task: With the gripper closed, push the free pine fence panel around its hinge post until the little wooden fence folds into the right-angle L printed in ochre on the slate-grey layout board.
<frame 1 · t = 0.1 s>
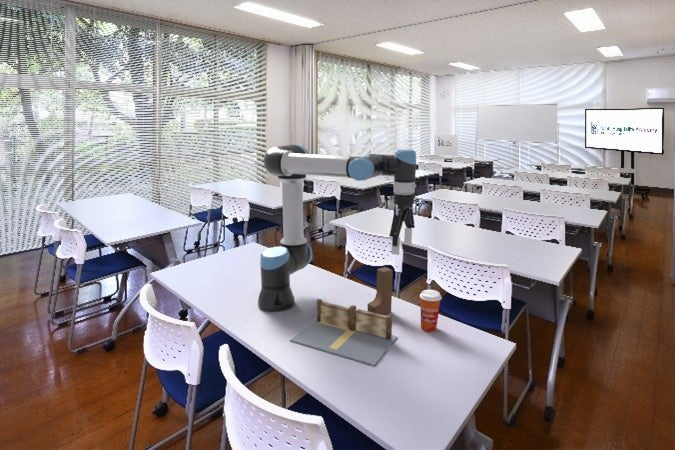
hand: (401, 249, 155), 28 cm above the table, tool pointing down, fingers open, 13 cm apart
fence gate: (373, 323, 147), point 5 cm above the table, hinge at 0.0°
fence fixed: (352, 330, 152), resting on layout card
wooden block: (379, 313, 166), on the table
paper cup: (428, 328, 153), on the table
layout card: (343, 339, 146), on the table
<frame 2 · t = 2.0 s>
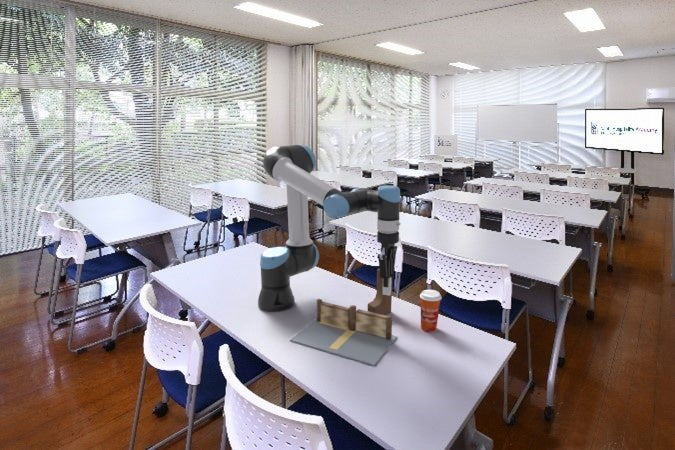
hand: (386, 294, 149), 14 cm above the table, tool pointing down, fingers closed
nothing on the table moved.
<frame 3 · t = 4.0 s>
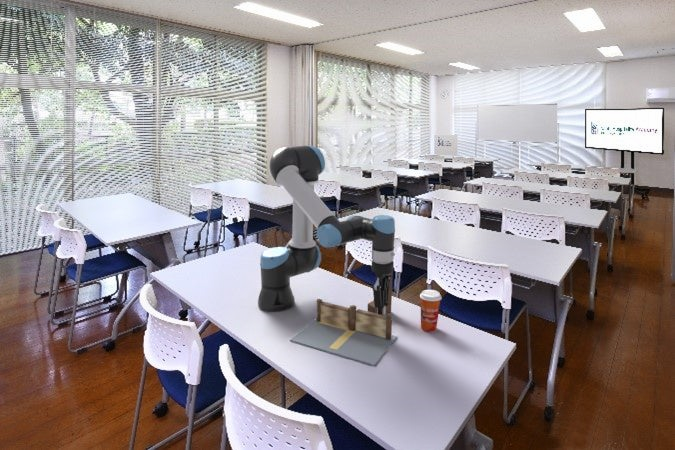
hand: (381, 322, 148), 4 cm above the table, tool pointing down, fingers closed
fence gate: (373, 323, 147), point 5 cm above the table, hinge at -0.6°, touching gripper
everything else where it was.
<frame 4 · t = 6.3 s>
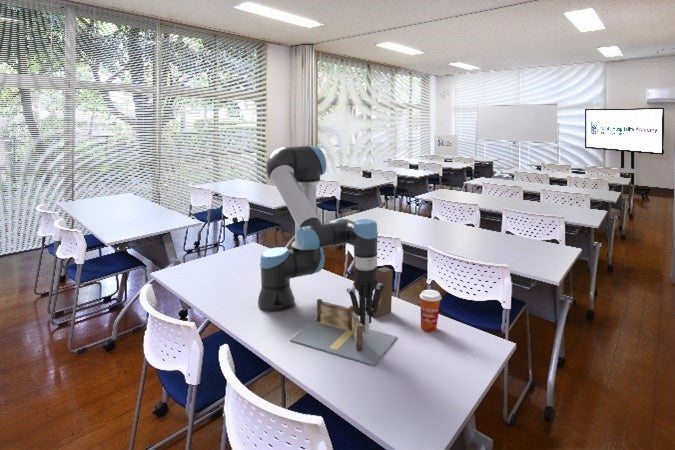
hand: (365, 332, 141), 5 cm above the table, tool pointing down, fingers closed
fence gate: (356, 329, 142), point 5 cm above the table, hinge at -54.9°, touching gripper
everything else where it was.
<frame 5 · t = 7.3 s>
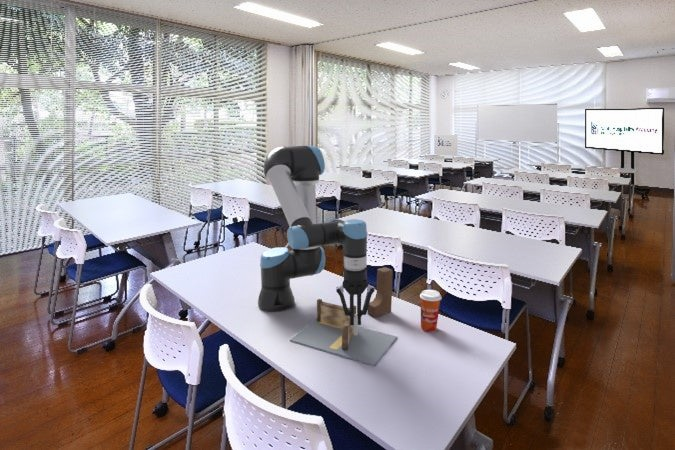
hand: (355, 333, 140), 5 cm above the table, tool pointing down, fingers closed
fence gate: (348, 329, 143), point 5 cm above the table, hinge at -74.5°, touching gripper
everything else where it was.
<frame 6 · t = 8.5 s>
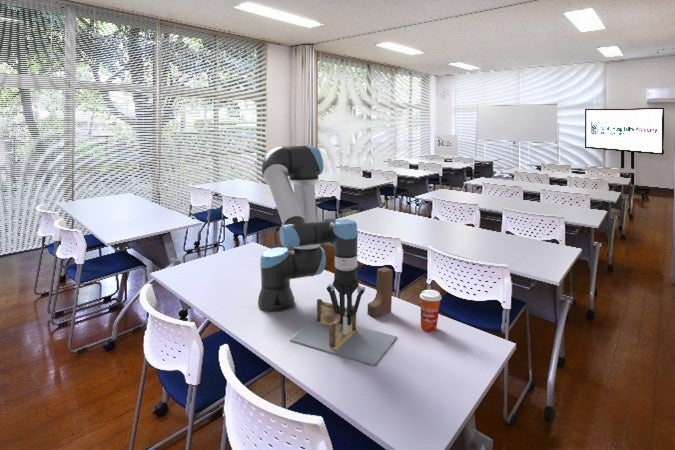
hand: (345, 332, 141), 5 cm above the table, tool pointing down, fingers closed
fence gate: (341, 327, 144), point 5 cm above the table, hinge at -93.3°, touching gripper
everything else where it was.
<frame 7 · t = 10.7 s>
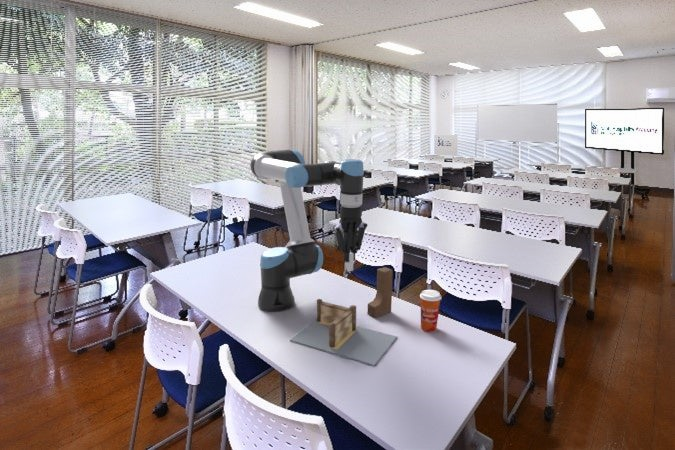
hand: (349, 269, 148), 23 cm above the table, tool pointing down, fingers closed
fence gate: (341, 327, 144), point 5 cm above the table, hinge at -93.3°
everything else where it was.
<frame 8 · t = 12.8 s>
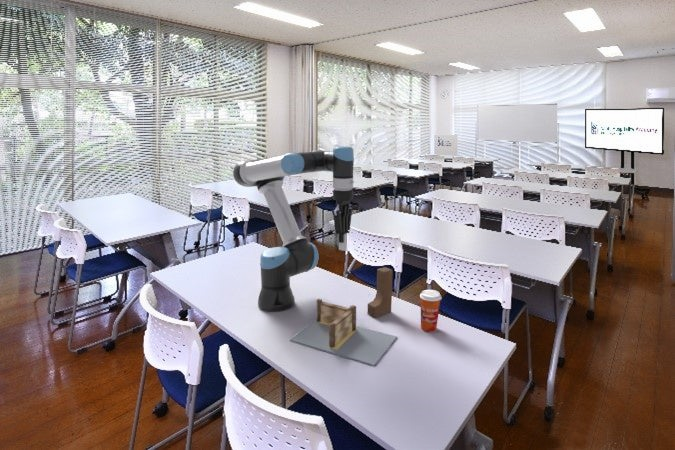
hand: (342, 249, 159), 26 cm above the table, tool pointing down, fingers closed
nothing on the table moved.
at the end: fence gate at -93° (first picture: +0°); wooden block moved 0.2 cm from its start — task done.
